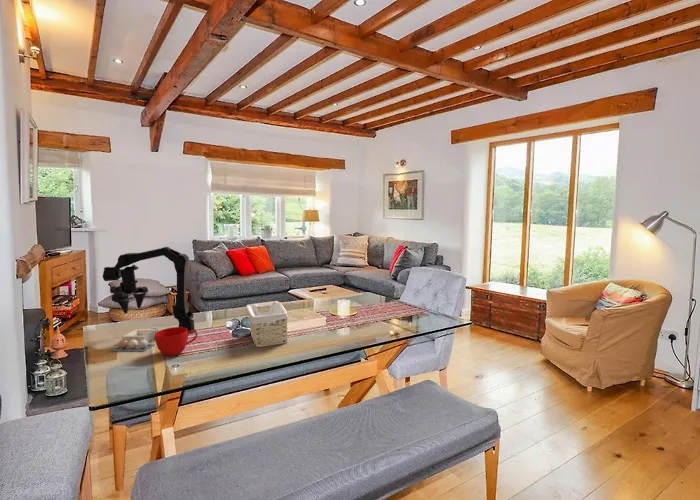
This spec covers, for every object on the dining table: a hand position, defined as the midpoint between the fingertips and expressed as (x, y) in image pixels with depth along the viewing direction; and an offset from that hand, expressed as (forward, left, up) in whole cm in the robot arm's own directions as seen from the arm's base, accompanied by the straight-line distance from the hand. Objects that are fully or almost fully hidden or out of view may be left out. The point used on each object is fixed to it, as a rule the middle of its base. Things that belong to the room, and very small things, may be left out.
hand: (132, 310), depth 201 cm
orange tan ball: (-6, +16, -13) cm, 21 cm away
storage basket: (-68, +1, -14) cm, 70 cm away
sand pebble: (-10, +16, -13) cm, 23 cm away
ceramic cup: (-34, +20, -14) cm, 42 cm away
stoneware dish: (-6, +5, -14) cm, 16 cm away
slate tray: (-10, +16, -14) cm, 23 cm away
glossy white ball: (-15, +16, -13) cm, 25 cm away
